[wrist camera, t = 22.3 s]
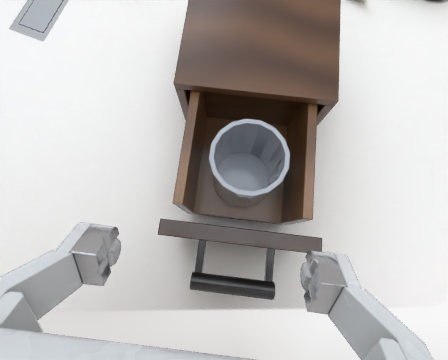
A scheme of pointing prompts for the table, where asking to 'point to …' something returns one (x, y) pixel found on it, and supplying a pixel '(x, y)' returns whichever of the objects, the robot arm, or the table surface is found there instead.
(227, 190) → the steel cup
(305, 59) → the cabinet
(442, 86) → the table surface
